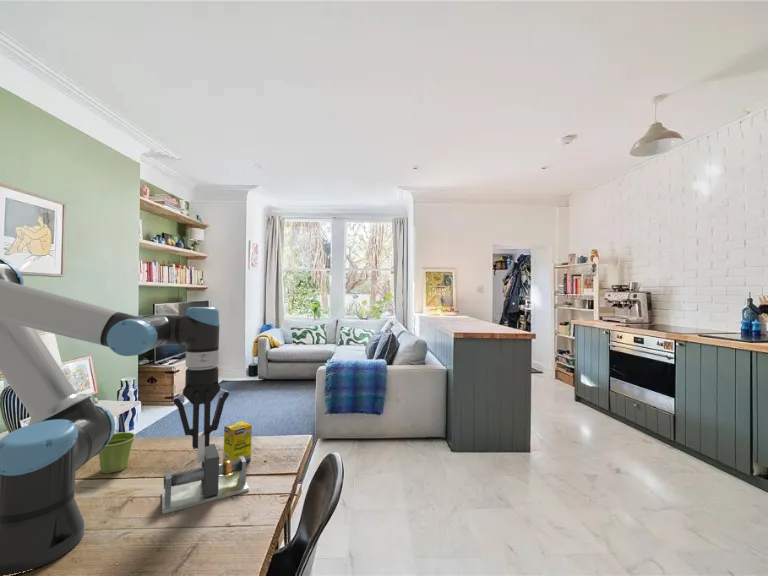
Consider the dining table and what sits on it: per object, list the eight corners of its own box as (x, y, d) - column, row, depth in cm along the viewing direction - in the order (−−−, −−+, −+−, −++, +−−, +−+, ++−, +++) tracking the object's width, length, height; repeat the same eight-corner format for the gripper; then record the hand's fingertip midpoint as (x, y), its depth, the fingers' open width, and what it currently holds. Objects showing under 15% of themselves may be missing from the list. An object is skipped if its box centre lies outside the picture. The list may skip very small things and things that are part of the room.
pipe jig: (162, 514, 81) (163, 484, 81) (162, 493, 89) (162, 466, 89) (248, 491, 91) (249, 464, 91) (241, 474, 99) (241, 450, 100)
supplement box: (233, 467, 103) (234, 430, 103) (222, 461, 107) (223, 425, 107) (251, 460, 108) (252, 424, 108) (240, 455, 111) (241, 420, 112)
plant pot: (142, 462, 106) (143, 433, 106) (115, 478, 96) (116, 446, 97) (113, 460, 107) (114, 431, 107) (84, 475, 97) (85, 444, 98)
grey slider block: (204, 497, 86) (205, 459, 86) (201, 480, 94) (202, 445, 94) (218, 493, 88) (219, 456, 88) (213, 477, 95) (214, 443, 95)
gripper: (173, 372, 83) (171, 472, 83) (232, 367, 90) (230, 459, 90) (172, 367, 90) (170, 460, 89) (227, 362, 97) (226, 448, 96)
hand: (200, 459), depth 89 cm, fingers closed
